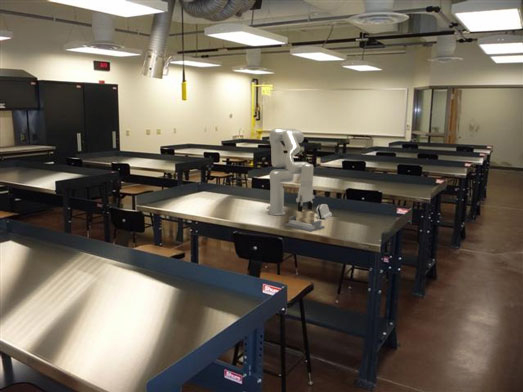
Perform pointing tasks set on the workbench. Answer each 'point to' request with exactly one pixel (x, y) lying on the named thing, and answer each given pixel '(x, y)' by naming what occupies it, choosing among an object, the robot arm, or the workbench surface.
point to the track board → (304, 224)
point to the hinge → (323, 211)
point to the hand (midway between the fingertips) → (304, 210)
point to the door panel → (305, 216)
